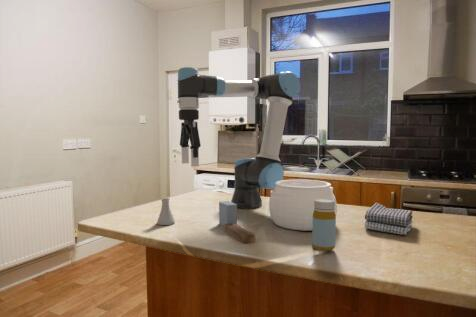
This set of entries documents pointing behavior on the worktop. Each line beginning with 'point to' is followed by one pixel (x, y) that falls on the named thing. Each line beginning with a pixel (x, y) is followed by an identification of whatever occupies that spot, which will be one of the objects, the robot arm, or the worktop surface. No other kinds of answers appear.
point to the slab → (227, 213)
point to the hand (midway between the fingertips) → (190, 164)
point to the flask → (165, 213)
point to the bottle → (324, 224)
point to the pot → (297, 202)
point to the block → (240, 233)
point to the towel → (388, 219)
